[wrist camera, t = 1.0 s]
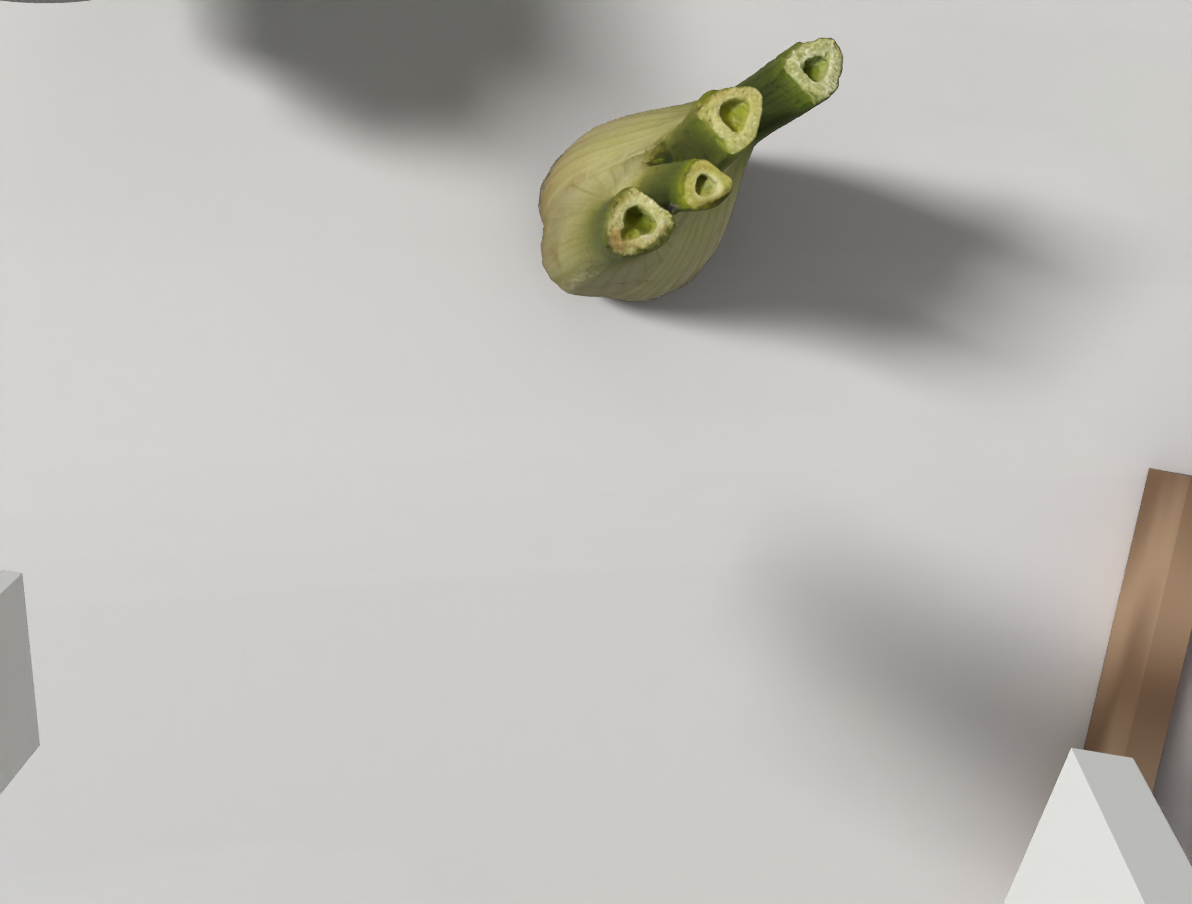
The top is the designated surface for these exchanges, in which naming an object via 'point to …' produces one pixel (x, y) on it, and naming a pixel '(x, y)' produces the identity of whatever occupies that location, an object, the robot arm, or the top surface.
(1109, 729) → the brown wooden square frame
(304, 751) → the top surface
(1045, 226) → the top surface
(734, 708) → the top surface
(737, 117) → the fennel bulb
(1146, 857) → the robot arm
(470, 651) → the top surface
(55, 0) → the security camera
